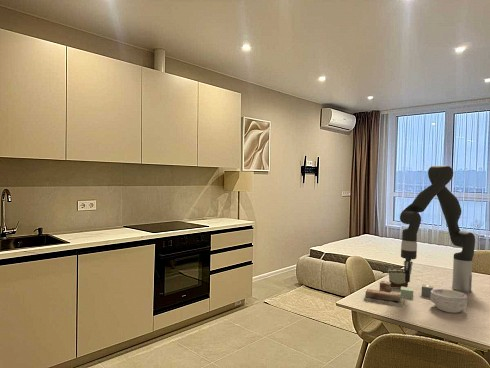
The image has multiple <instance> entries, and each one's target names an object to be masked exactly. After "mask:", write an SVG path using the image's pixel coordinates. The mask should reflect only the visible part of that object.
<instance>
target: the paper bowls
mask: <svg viewBox="0 0 490 368" xmlns="http://www.w3.org/2000/svg"><path fill="white" fill-rule="evenodd" d="M430 296H431V297H429V298H430V299H429V300H430V302H432V304H434V306H435V308H436V309H438V310H439V311H442V312H446V313H451V314H452V313H454V314H457V313H460V312H462V310H463V309H465V308H467V307H468V306H467V305H468V295H467V294H465V293H464V292H462V291H458V290H454V289H453V290H451V289H445V288H444V289H443V288H433V290H431V295H430Z"/></svg>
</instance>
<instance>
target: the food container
mask: <svg viewBox="0 0 490 368" xmlns="http://www.w3.org/2000/svg"><path fill="white" fill-rule="evenodd" d="M387 274H388V279H389V281H388V282H391V289H392V288H393V289H394V288H395V289H396V288H397V289H401V287H408V285H409V282H405V273H404V268H400V267H390V268H388V270H387ZM411 274H412V273H411ZM411 274H410V276H411ZM408 288H409V287H408Z"/></svg>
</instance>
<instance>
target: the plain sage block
mask: <svg viewBox="0 0 490 368" xmlns="http://www.w3.org/2000/svg"><path fill="white" fill-rule="evenodd" d="M400 295H401V296H400V297H402V298H406V299H414V288H413V287H401V288H400Z"/></svg>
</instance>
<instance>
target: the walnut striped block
mask: <svg viewBox="0 0 490 368" xmlns="http://www.w3.org/2000/svg"><path fill="white" fill-rule="evenodd" d="M391 289H392V287H391V282H389V281H385V280H381V281H380V282H379V289H378V291H384V292H389V293H392V292H391V291H392V290H391Z"/></svg>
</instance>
